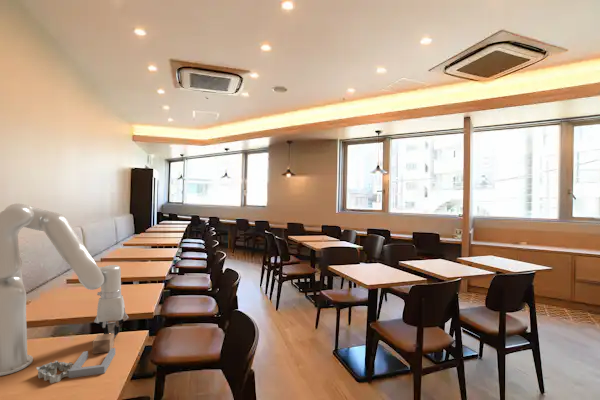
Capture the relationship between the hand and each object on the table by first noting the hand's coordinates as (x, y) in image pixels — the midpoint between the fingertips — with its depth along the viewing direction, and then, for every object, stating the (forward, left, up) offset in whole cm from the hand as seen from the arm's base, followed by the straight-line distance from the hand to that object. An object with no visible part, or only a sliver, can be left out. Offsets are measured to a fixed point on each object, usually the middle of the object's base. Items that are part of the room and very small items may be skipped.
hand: (111, 334), depth 139 cm
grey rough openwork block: (-11, -26, -2) cm, 28 cm away
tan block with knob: (0, -6, -1) cm, 6 cm away
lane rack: (0, -22, -1) cm, 22 cm away
